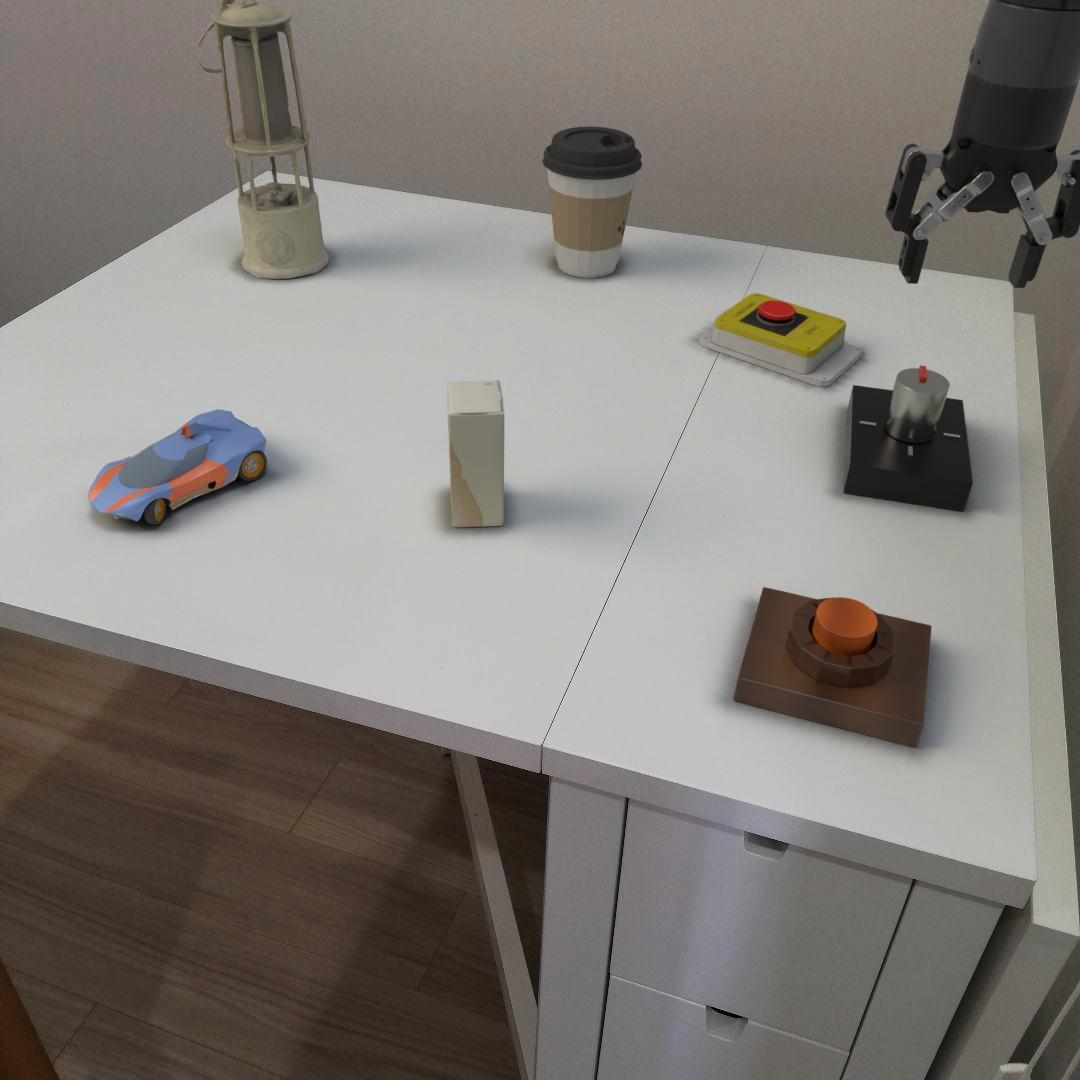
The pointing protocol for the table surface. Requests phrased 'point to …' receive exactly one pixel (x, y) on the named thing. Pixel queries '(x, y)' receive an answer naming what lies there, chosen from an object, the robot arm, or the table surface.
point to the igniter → (836, 671)
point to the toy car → (180, 468)
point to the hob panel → (906, 455)
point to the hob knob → (916, 405)
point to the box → (476, 452)
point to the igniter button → (844, 626)
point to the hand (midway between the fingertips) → (963, 282)
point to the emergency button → (783, 339)
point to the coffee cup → (590, 196)
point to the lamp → (269, 144)
